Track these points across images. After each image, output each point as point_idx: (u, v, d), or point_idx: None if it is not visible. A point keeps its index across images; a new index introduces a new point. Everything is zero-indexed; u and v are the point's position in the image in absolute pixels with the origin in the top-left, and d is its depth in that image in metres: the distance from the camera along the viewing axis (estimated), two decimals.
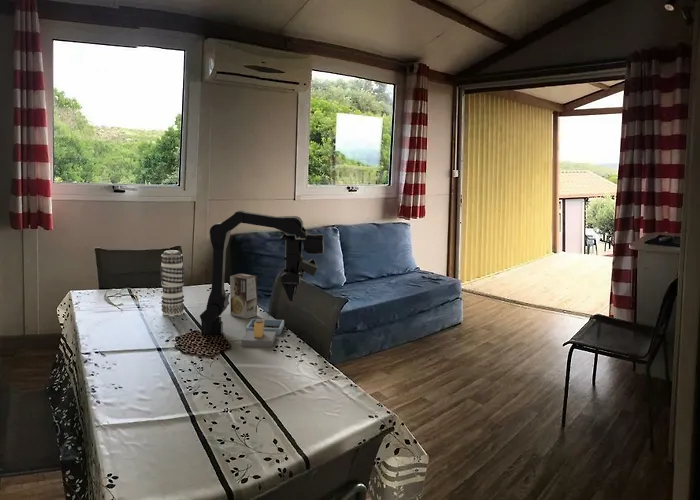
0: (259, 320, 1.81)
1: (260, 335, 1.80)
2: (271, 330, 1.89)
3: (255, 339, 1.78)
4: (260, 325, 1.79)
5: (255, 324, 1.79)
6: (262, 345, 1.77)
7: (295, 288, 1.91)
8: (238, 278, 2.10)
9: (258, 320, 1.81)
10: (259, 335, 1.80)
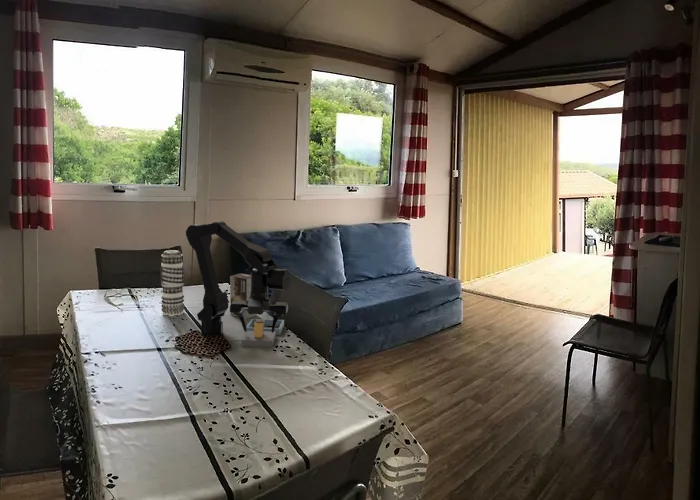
0: (259, 320, 1.81)
1: (260, 335, 1.80)
2: (271, 330, 1.89)
3: (255, 339, 1.78)
4: (260, 325, 1.79)
5: (255, 324, 1.79)
6: (262, 345, 1.77)
7: (272, 326, 1.81)
8: (238, 278, 2.10)
9: (258, 320, 1.81)
10: (259, 335, 1.80)
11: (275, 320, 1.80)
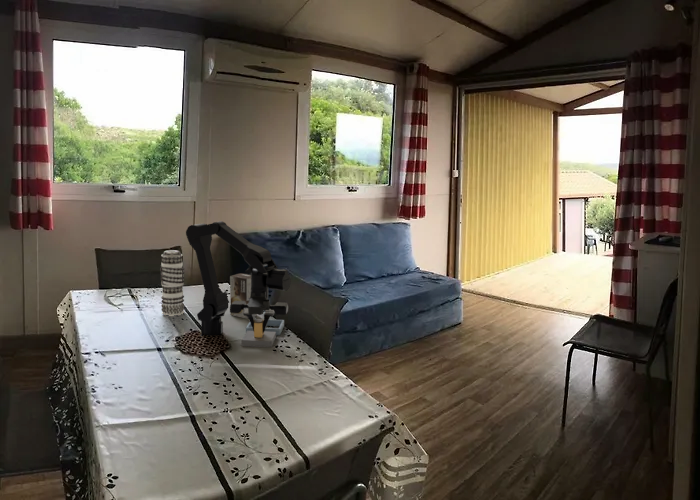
0: (259, 320, 1.81)
1: (260, 335, 1.80)
2: (271, 330, 1.89)
3: (255, 339, 1.78)
4: (260, 325, 1.79)
5: (255, 324, 1.79)
6: (262, 345, 1.77)
7: (263, 326, 1.81)
8: (238, 278, 2.10)
9: (258, 320, 1.81)
10: (259, 335, 1.80)
11: (266, 320, 1.80)
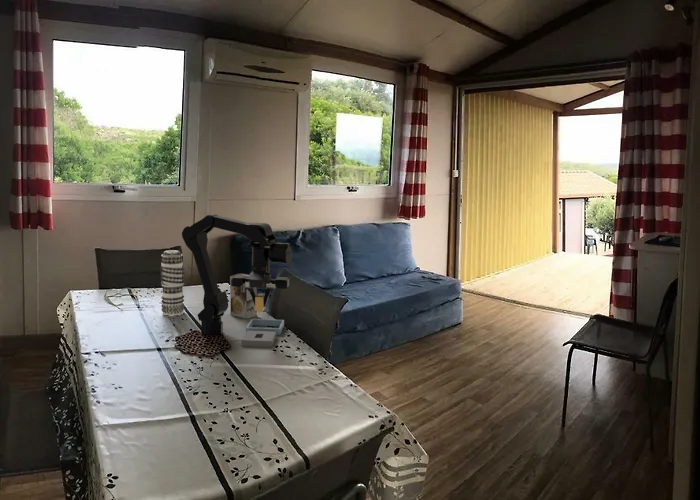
0: (260, 294, 1.81)
1: (261, 309, 1.80)
2: (271, 330, 1.89)
3: (255, 339, 1.78)
4: (261, 299, 1.80)
5: (256, 298, 1.80)
6: (262, 345, 1.77)
7: (264, 300, 1.82)
8: None
9: (259, 294, 1.81)
10: (260, 309, 1.80)
11: (267, 294, 1.80)
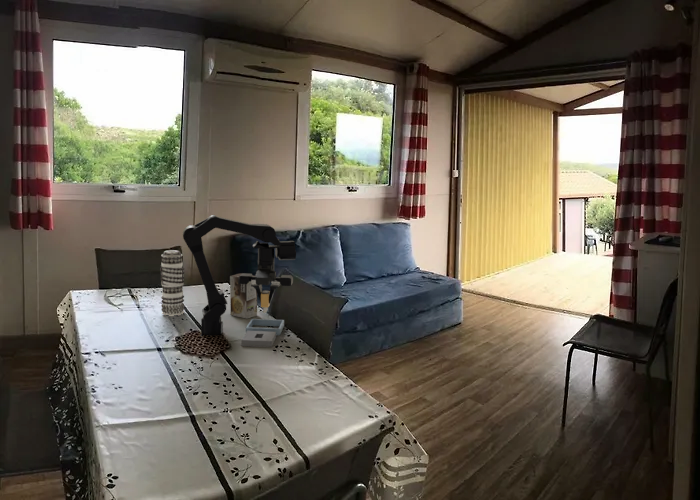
0: (265, 291, 1.93)
1: (266, 305, 1.91)
2: (271, 330, 1.89)
3: (255, 339, 1.78)
4: (266, 296, 1.91)
5: (262, 295, 1.91)
6: (262, 345, 1.77)
7: (269, 297, 1.93)
8: None
9: (264, 291, 1.93)
10: (265, 305, 1.91)
11: (272, 291, 1.91)
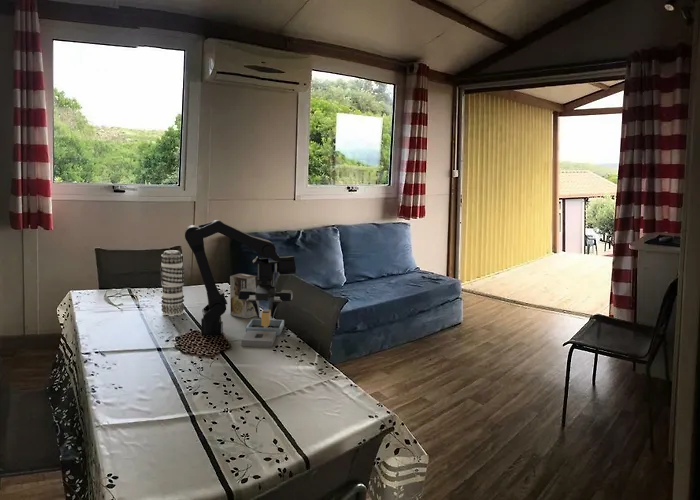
0: (266, 310, 1.94)
1: (267, 324, 1.93)
2: (271, 330, 1.89)
3: (255, 339, 1.78)
4: (267, 315, 1.92)
5: (262, 314, 1.92)
6: (262, 345, 1.77)
7: (272, 312, 1.94)
8: (238, 278, 2.10)
9: (265, 310, 1.94)
10: (266, 324, 1.93)
11: (274, 306, 1.92)
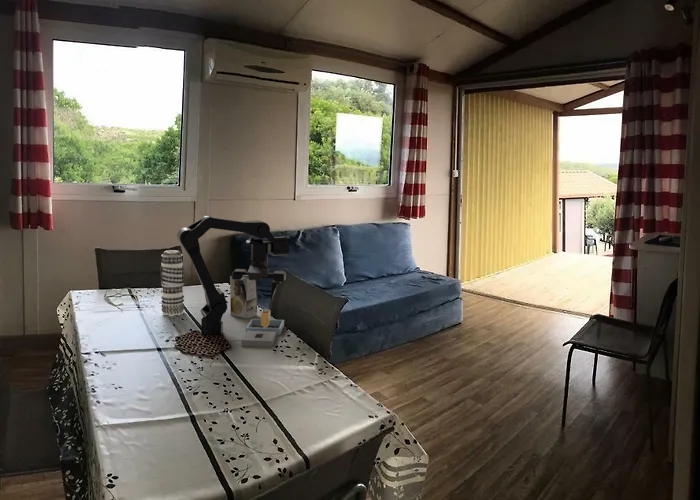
0: (266, 310, 1.94)
1: (267, 324, 1.93)
2: (271, 330, 1.89)
3: (255, 339, 1.78)
4: (267, 315, 1.92)
5: (262, 314, 1.92)
6: (262, 345, 1.77)
7: (271, 293, 1.94)
8: None
9: (265, 310, 1.94)
10: (266, 324, 1.93)
11: (274, 287, 1.93)
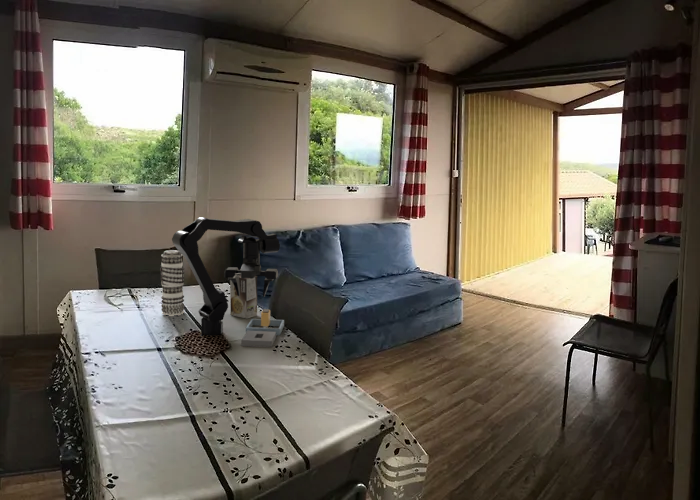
0: (266, 310, 1.94)
1: (267, 324, 1.93)
2: (271, 330, 1.89)
3: (255, 339, 1.78)
4: (267, 315, 1.92)
5: (262, 314, 1.92)
6: (262, 345, 1.77)
7: None
8: None
9: (265, 310, 1.94)
10: (266, 324, 1.93)
11: (266, 285, 1.95)
